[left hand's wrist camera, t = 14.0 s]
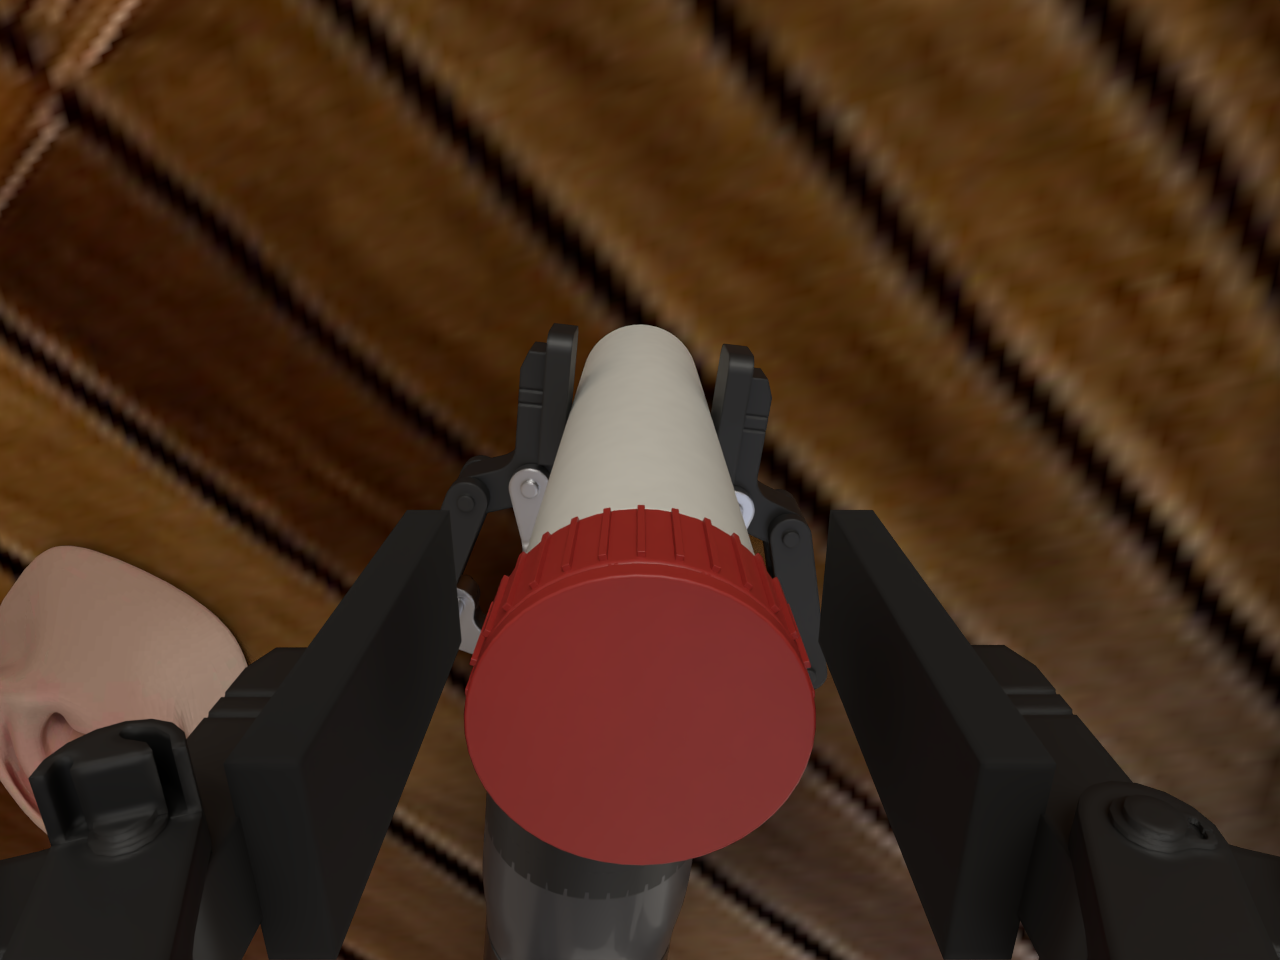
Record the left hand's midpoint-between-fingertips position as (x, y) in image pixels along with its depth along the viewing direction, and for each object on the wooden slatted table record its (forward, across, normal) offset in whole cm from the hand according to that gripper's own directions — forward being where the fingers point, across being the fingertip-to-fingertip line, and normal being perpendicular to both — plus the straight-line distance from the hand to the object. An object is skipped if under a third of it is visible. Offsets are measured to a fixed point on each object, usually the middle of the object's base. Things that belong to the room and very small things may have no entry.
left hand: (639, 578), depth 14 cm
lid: (-4, 0, 0) cm, 4 cm away
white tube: (+16, 0, 0) cm, 16 cm away
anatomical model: (+16, +22, +14) cm, 30 cm away
